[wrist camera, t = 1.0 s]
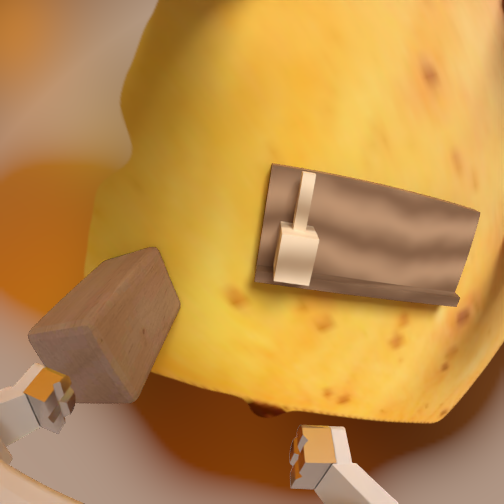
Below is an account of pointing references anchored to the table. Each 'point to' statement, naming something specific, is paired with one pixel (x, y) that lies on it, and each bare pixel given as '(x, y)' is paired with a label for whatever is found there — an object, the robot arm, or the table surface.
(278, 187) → the board
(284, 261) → the cream block with bar
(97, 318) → the wooden block
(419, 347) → the table surface
